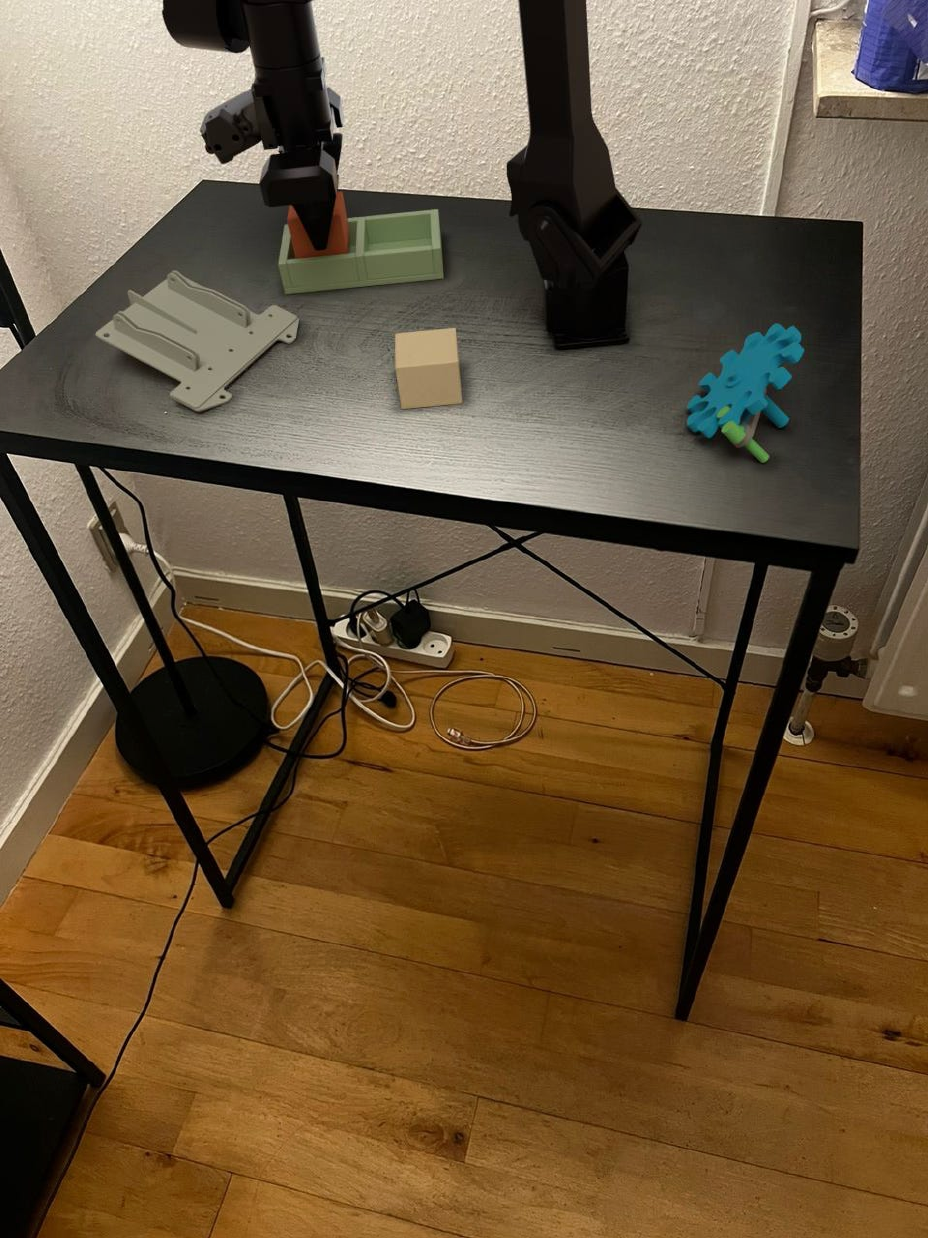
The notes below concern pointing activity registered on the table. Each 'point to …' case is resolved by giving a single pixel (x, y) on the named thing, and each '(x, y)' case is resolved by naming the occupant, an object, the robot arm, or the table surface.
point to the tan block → (428, 368)
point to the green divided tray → (370, 255)
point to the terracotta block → (337, 234)
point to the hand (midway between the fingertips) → (322, 235)
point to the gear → (746, 388)
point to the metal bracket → (196, 337)
